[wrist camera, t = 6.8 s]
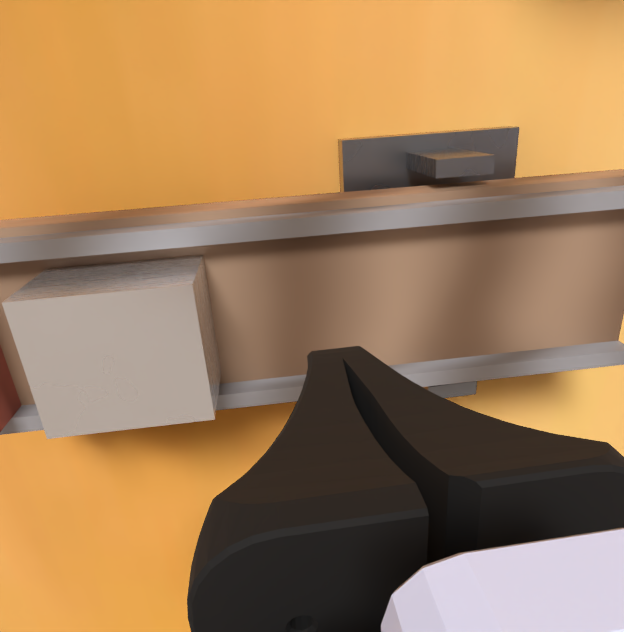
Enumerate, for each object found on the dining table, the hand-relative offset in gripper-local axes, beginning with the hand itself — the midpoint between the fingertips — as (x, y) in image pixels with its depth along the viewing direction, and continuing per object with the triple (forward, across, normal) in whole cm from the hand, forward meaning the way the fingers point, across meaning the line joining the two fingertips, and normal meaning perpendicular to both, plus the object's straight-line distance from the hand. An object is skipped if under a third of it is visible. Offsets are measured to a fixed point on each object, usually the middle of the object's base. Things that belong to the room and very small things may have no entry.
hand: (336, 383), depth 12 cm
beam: (+7, 0, 0) cm, 7 cm away
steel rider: (+5, +6, 0) cm, 8 cm away
